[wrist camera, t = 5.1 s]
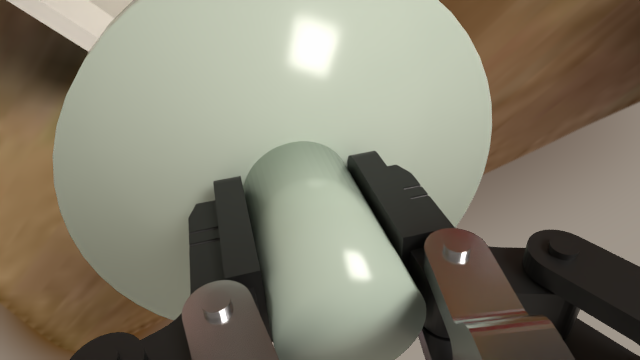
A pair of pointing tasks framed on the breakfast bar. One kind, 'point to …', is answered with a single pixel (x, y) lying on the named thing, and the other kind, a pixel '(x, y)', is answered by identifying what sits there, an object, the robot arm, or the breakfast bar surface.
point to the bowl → (74, 16)
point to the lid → (272, 152)
